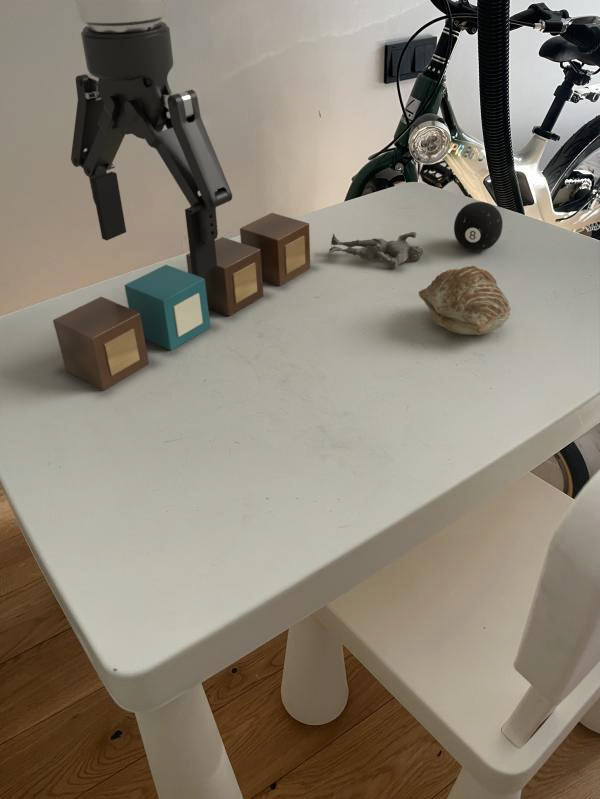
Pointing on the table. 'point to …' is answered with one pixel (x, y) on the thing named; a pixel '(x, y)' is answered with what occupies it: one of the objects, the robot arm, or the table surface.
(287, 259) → the walnut block
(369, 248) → the figurine
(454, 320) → the seashell
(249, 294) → the walnut block
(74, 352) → the walnut block
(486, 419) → the table surface
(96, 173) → the robot arm
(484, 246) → the billiard ball
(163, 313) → the teal block
